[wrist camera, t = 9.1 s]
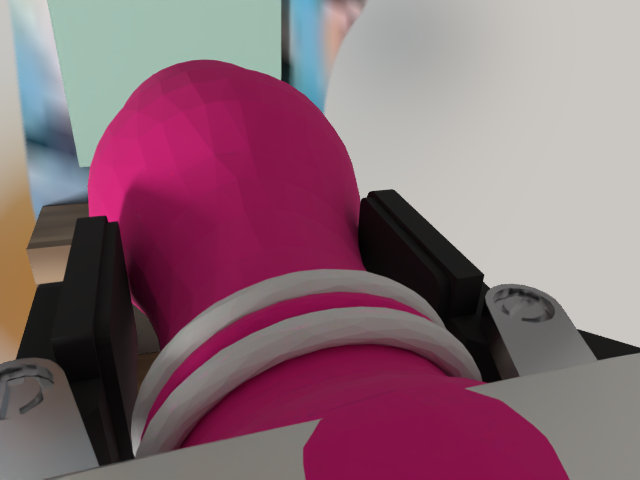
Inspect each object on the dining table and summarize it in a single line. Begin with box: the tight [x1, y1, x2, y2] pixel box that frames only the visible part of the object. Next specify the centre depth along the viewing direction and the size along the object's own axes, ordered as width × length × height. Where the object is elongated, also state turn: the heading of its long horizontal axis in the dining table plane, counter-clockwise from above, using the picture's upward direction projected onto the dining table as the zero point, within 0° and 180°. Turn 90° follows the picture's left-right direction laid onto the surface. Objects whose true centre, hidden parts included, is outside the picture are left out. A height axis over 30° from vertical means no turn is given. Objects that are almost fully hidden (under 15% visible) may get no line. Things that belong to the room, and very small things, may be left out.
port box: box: [26, 203, 161, 396], centre depth 40 cm, size 16×16×6 cm
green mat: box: [47, 0, 281, 167], centre depth 34 cm, size 14×14×1 cm
